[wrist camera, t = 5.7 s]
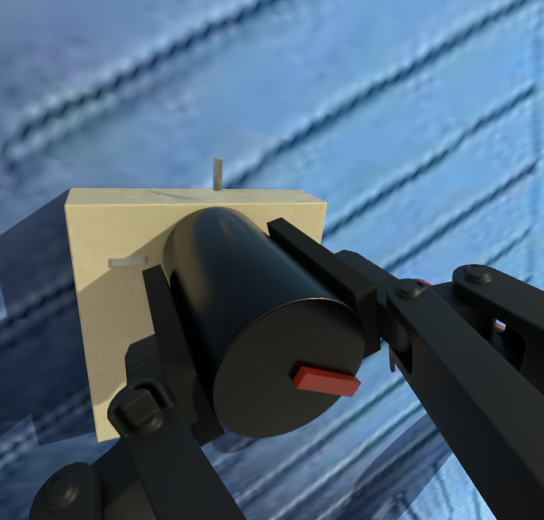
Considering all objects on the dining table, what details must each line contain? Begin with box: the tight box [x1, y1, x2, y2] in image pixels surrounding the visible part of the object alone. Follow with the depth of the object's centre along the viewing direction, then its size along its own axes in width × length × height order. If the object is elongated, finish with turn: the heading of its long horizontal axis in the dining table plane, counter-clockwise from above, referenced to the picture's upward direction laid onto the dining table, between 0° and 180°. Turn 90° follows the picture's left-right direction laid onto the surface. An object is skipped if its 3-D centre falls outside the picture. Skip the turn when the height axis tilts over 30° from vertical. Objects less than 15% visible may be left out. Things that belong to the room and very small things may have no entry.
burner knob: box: [163, 207, 365, 438], centre depth 13 cm, size 5×5×9 cm
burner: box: [64, 158, 327, 442], centre depth 19 cm, size 15×12×3 cm
